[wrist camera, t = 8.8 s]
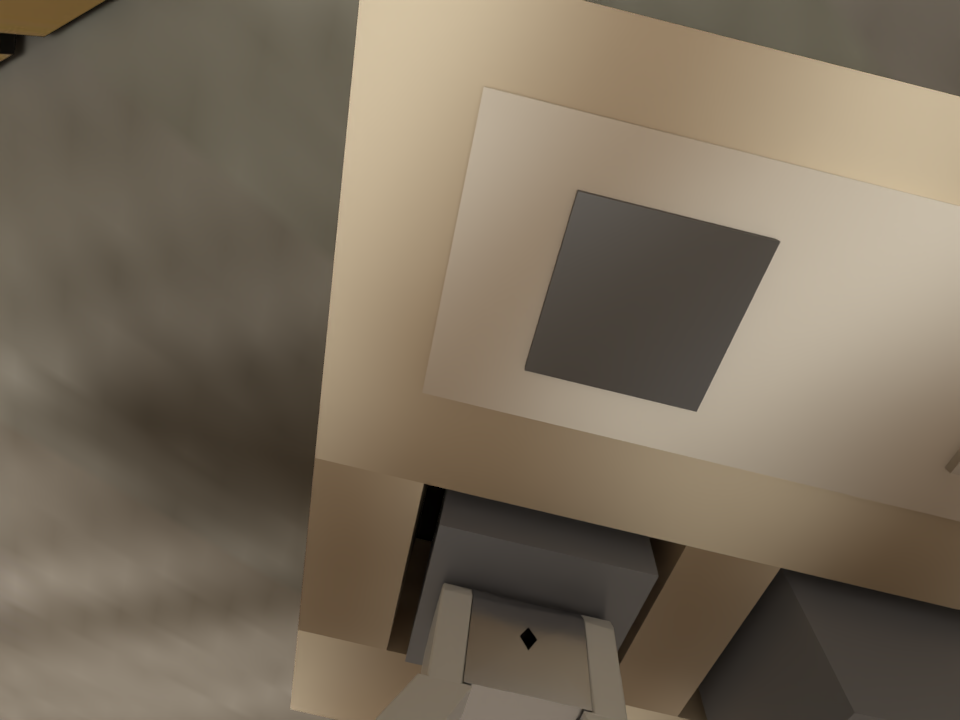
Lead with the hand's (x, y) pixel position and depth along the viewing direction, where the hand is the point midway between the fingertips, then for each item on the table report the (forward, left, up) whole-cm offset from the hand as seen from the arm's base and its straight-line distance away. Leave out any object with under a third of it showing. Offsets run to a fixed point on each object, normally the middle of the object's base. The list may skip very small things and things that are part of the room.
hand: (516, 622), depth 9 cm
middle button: (-6, 0, -1) cm, 6 cm away
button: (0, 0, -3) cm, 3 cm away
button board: (-6, -2, -3) cm, 7 cm away
